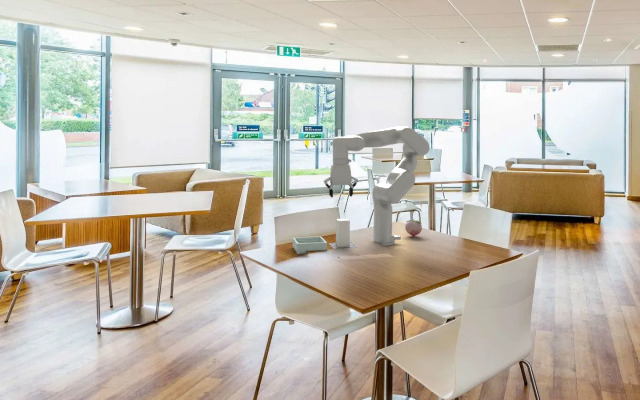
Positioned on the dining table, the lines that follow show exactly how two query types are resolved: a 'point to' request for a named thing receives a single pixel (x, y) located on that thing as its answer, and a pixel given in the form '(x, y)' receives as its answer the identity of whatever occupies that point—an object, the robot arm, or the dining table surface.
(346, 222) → the light grey block
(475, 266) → the dining table surface
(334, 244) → the stud base
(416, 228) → the decorative fruit
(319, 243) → the bin
